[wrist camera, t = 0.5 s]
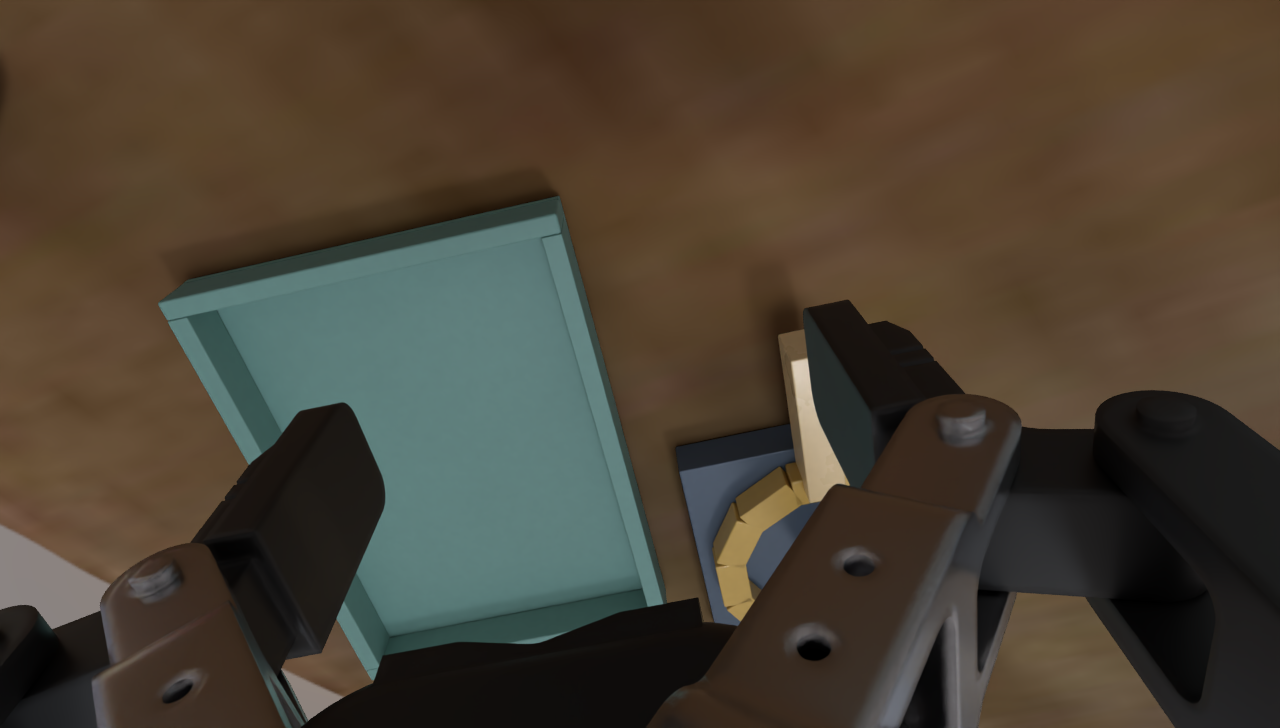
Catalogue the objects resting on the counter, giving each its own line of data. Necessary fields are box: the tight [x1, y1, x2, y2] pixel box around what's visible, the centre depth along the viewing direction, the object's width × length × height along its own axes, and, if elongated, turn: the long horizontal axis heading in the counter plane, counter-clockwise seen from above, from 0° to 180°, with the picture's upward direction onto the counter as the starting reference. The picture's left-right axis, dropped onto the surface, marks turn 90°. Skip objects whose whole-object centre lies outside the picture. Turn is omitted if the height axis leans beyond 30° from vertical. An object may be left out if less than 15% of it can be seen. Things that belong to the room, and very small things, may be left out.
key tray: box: [158, 196, 667, 680], centre depth 34 cm, size 22×16×2 cm
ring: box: [712, 329, 850, 622], centre depth 33 cm, size 17×11×2 cm, turn 12°
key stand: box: [676, 424, 821, 626], centre depth 29 cm, size 12×12×20 cm
